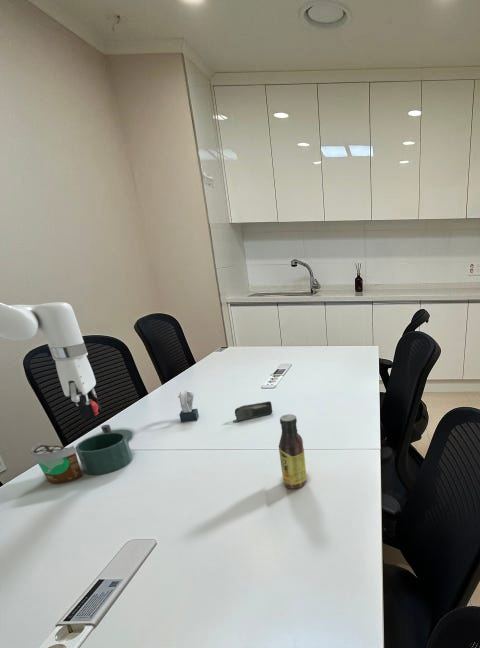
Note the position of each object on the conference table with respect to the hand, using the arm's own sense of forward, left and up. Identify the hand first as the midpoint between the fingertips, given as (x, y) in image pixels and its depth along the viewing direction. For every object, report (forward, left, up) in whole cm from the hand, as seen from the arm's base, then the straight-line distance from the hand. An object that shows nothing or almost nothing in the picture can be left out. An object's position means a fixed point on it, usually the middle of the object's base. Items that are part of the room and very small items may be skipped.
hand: (91, 414), depth 109 cm
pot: (0, 0, -16) cm, 16 cm away
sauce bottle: (+52, -30, -17) cm, 62 cm away
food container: (-11, -5, -17) cm, 21 cm away
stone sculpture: (+20, +27, -17) cm, 38 cm away
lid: (-4, +17, -16) cm, 24 cm away
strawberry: (0, 0, 0) cm, 0 cm away
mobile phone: (+42, +20, -17) cm, 50 cm away
